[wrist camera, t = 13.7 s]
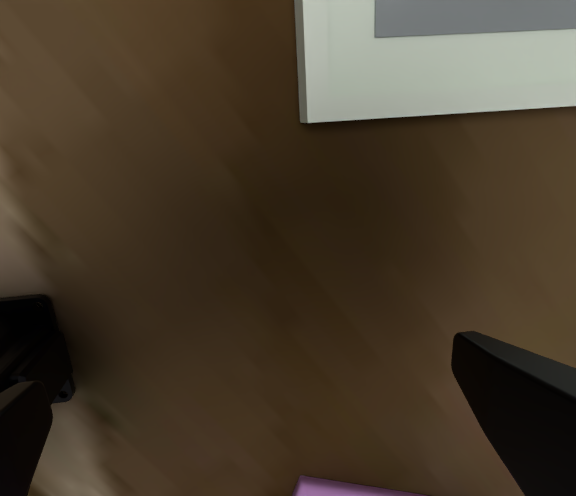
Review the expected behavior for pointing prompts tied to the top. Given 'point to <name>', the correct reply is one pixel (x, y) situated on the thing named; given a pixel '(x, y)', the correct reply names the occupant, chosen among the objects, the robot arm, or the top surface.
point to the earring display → (341, 489)
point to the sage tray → (433, 57)
